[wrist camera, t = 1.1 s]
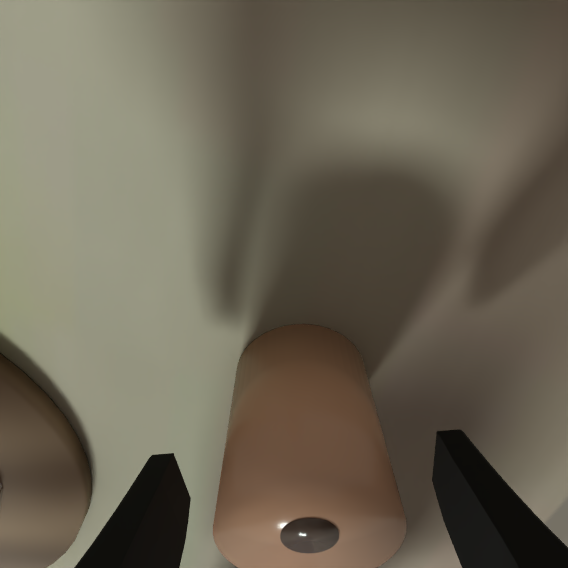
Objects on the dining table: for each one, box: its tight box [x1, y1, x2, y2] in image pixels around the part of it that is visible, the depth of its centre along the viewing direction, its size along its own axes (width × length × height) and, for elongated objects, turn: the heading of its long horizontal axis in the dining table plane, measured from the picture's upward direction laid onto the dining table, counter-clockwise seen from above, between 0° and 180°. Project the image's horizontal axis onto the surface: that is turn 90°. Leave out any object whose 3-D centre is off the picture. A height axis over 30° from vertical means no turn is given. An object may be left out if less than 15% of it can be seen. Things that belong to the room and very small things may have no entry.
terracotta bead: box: [213, 324, 407, 568], centre depth 12 cm, size 5×5×6 cm
